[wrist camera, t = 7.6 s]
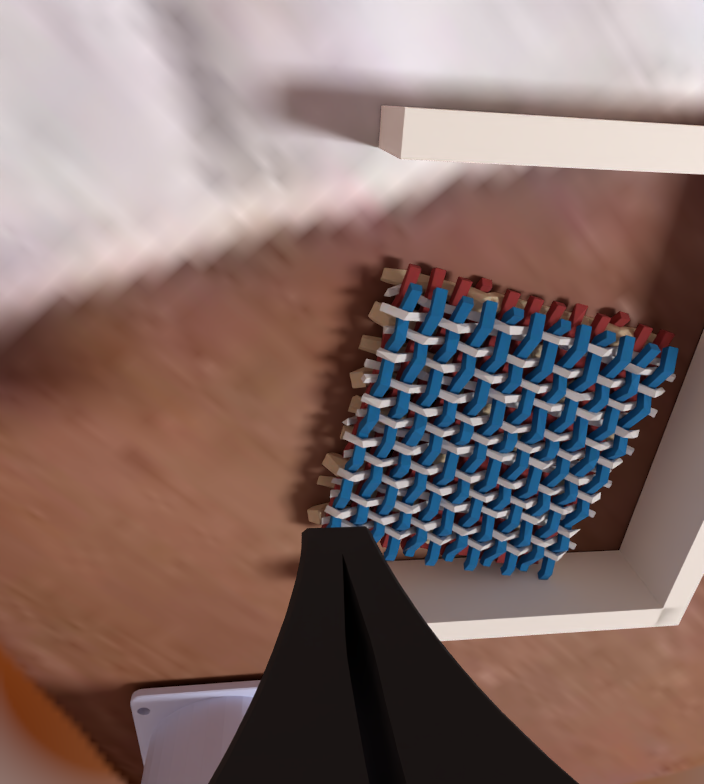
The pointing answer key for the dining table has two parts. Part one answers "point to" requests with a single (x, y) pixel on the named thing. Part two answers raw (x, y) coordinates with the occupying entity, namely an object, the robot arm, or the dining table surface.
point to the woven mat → (488, 421)
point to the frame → (674, 455)
